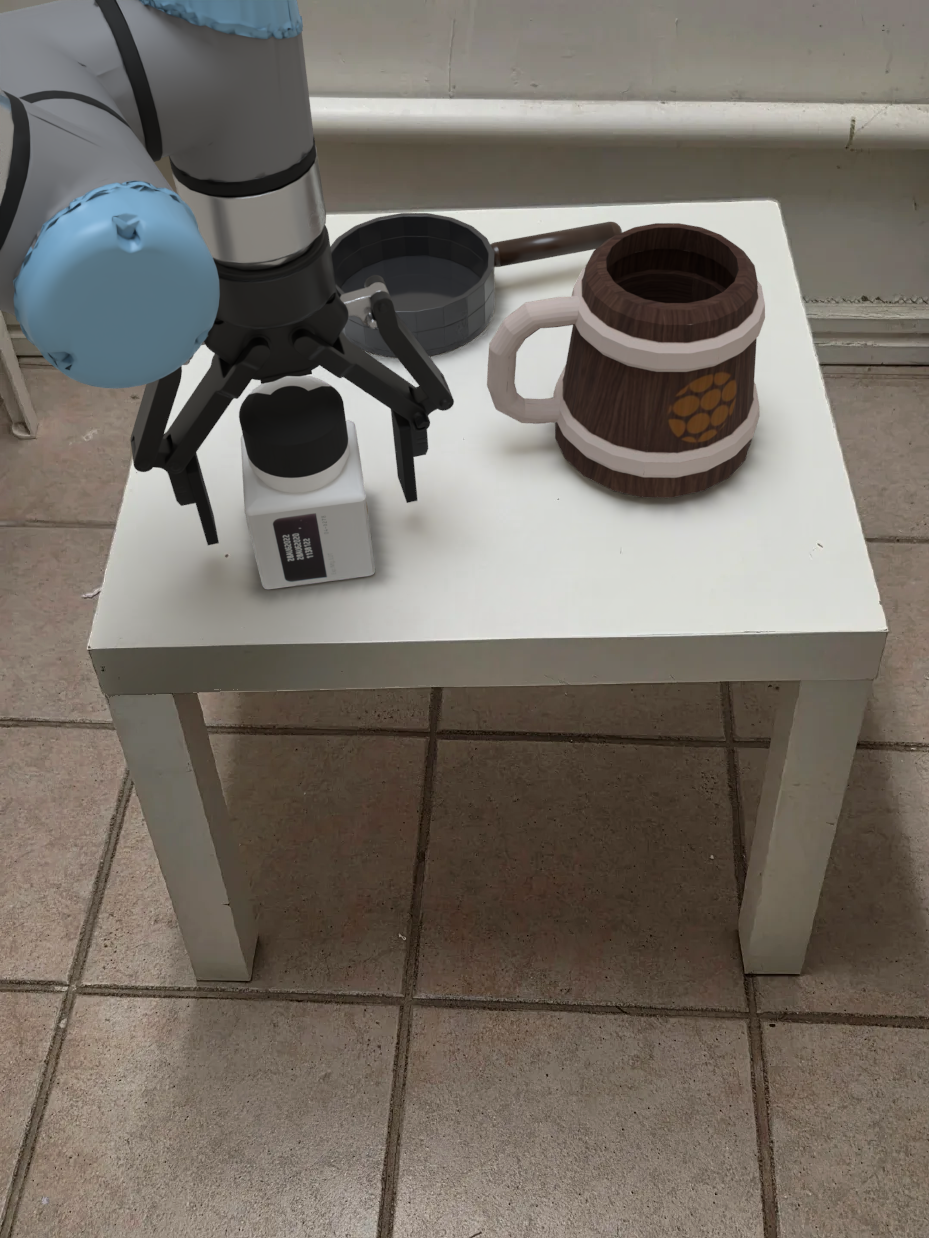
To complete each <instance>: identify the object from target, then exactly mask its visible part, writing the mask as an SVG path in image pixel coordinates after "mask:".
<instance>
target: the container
mask: <svg viewBox="0 0 929 1238" xmlns="http://www.w3.org/2000/svg"><path fill="white" fill-rule="evenodd" d="M344 404H345V403H344V400H343V397H342V395H341V394H340V392H339V391H338V390H337V388H335V387H334V386H333V385H331V384H330V383H328V382H326V381H325V380H323V379H321V378H318V377H315V376H311V375H305V376H286V377H283V378H281V379H279V380H276V381H274V382H269V383H264V384H261V383H260V384H259V385H257V386H256V387H255V388H253V389H252V391H250V392H249V394H248V395H246V397H245V398H244V400H243V401H242V403H241V405H240V408H239V412H238V420H239V424H240V428H241V434H242V435H241V437H240V449H241V450H240V451H241V469H242V490H243V491H242V492H243V507H244V515H245V520H246V524H247V528H248V532H249V537H250V540H251V545H252V549H253V552H254V553H253V554H254V557H255V561H256V565H257V570H258V573H259V579H260V583H261V586H262V587H263V589H265V590H275V589H282V588H288V587H290V588H291V587H297V586H304V585H311V584H318V583H326V582H327V583H328V582H332V581H340V580H349V579H356V578H363V577H370V576H373V575H374V574H375V572H376V565H375V556H374V550H373V542H372V535H371V534H372V533H371V525H370V517H369V510H368V503H367V495H366V488H365V480H364V474H363V468H362V461H361V454H360V445H359V441H358V434H357V433H358V432H357V427H356V423H355V421H353V420H351V419H350V420H347V419H346V411H345V405H344Z"/></svg>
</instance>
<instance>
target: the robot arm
mask: <svg viewBox="0 0 929 1238" xmlns="http://www.w3.org/2000/svg"><path fill="white" fill-rule="evenodd" d="M303 27H304V23H303V16H302V15H301V14H300V10H299V5H298V1H297V0H54V1H50V2H49V1H48V2H46V3H41V4H36V5H31V6H27V7H22V8H18V9H13V10H9V11H4V12H0V311H1V312H5V313H7V314H10V315H12V316H14V317H15V319H16V322H18V323H19V326H20V330H21V332H22V334H23V335H24V337H25V338H26V340H27V341H28V342H30V343H31V344H32V345H33V346H35V347H36V349H37V350H38V351H39V352H40V354H41V356H42V357H43V359H45V360H46V361H47V362H48V363H49V364H50V365H52V367H54V368H55V370H58V371H59V372H60V373H62V374H63V375H65V376H66V377H68V378H69V379H71V380H73V381H76V382H78V383H80V384H83V385H87V386H90V387H95V388H102V389H113V390H114V389H129V388H135V387H140V386H145V388H144V390H143V394H142V398H141V401H140V405H139V408H138V411H137V414H136V417H135V421H134V425H133V428H132V431H131V435H130V439H129V441H130V448H131V455H132V463H133V467H134V470H135V471H137V472H140V473H147V472H150V471H151V470H152V469H154V468H158V469H161V470H164V472H166V473H167V475H168V478H169V481H170V485H171V488H172V492H173V494H174V498H175V501H176V502H177V504H178V505H180V506H181V507H184V506H189V505H194V504H195V507H196V510H197V514H198V516H199V520H200V523H201V527H202V530H203V534H204V537H205V541H206V545H207V546H212V545H217V544H219V543H220V540H219V536H218V535H219V534H218V531H217V530H218V529H217V524H216V520H215V515H214V512H213V507H212V503H211V500H210V496H209V493H208V490H207V485H206V482H205V479H204V475H203V471H202V468H201V464H200V461H199V457H198V454H197V452H198V450H199V449H200V448H201V446H202V445H203V444H204V442H205V441H206V439H207V438H208V436H209V435H210V433H211V432H212V430H213V429H214V427H216V425H217V423H218V422H219V421H220V419H221V417H222V416H223V415H224V413H225V412H226V410H227V409H228V407H229V406H230V404H231V403H232V401H233V400H234V399H236V400H238V399H239V398H241V396H242V394H243V393H244V392H245V390H246V389H247V387H248V385H250V383H251V382H252V380H254V381H260V385H261V384H264V383H269V382H274V381H276V380H279V379H281V378H283V377H286V376H305V375H306V376H311V375H313V371H314V370H315V369H317V368H318V367H321V368H323V369H324V370H326V371H327V372H329V373H330V374H332V375H333V376H335V377H336V378H337V379H342V378H344V379H345V380H347V381H348V382H349V383H351V384H353V385H354V386H356V387H358V388H359V389H360V390H361V391H363V392H365V393H366V394H368V395H369V396H370V397H372V398H373V399H375V400H376V401H378V402H380V403H381V404H383V405H384V406H386V407H387V408H389V409H390V414H391V424H392V435H393V444H394V454H395V464H396V473H397V479H398V482H399V484H400V487H401V490H402V493H403V496H404V499H405V502H406V503H407V504H408V503H413V502H417V501H418V491H417V479H416V468H415V458H417V457H421V456H426V455H427V453H428V450H429V439H428V429H429V427H430V425H431V420H430V418H429V415H431V413H433V412H434V411H437V410H439V411H448V410H450V409H451V408H453V405H454V403H455V400H454V398H453V395H452V392H451V389H450V387H449V385H448V382H447V380H446V378H445V375H444V373H442V371H441V370H440V368H439V367H438V366H437V364H436V363H435V362H434V361H433V359H432V358H431V357H430V356H429V355H428V354H427V353H426V351H425V350H424V349H423V347H422V346H421V345H420V344H419V342H418V341H417V340H416V338H415V337H414V336H413V334H412V333H411V332H410V330H409V329H408V328H407V326H406V325H405V324H404V322H403V321H402V320H401V318H400V317H399V316H398V314H397V313H396V312H395V310H394V305H393V302H392V300H391V297H390V295H389V292H388V290H387V287H386V284H385V282H384V280H383V278H382V277H381V276H378V275H372V276H370V277H368V278H367V279H366V281H365V288H363V289H359V290H356V291H352V292H349V293H345V294H342V295H341V293H340V292H339V291H338V290H337V289H336V285H335V277H334V270H333V263H332V255H331V248H330V246H331V241H330V234H329V230H328V228H327V225H326V223H327V211H326V205H325V204H326V203H325V197H324V189H323V182H322V177H321V169H320V164H319V156H318V150H317V145H316V139H315V136H314V135H315V134H314V127H313V119H312V109H311V101H310V93H309V85H308V84H309V83H308V76H307V75H308V74H307V66H306V65H307V64H306V58H305V50H304V40H303V33H302V32H304V30H303ZM166 157H168V159H169V163H170V168H171V175H172V179H173V181H174V186H175V190H176V192H175V190H174V189H173V188H172V186H171V185H170V184H169V181H168V180H167V179H166V177H165V176H164V175H163V172H161V170H160V169H159V166H157V164H156V162H159V161H161V159H163V158H166ZM351 316H355V317H358V318H359V319H360V320H361V321H362V323H363V324H364V325H366V326H369V327H370V328H372V329H374V328H376V327H378V330H379V333H380V335H381V337H382V339H383V340H384V342H385V343H386V344H387V346H388V347H389V348H390V349H391V351H392V352H393V353H394V354H395V356H396V357H395V358H397V360H398V361H399V362H400V364H401V365H402V366H403V368H405V370H406V371H407V373H408V374H409V375H410V377H412V379H413V380H414V381H415V382H416V383H417V385H418V386H415V385H413V384H412V383H411V382H409V381H408V380H406V379H405V378H403V377H402V376H400V375H399V374H398V373H396V372H395V371H394V370H392V369H391V368H389V367H388V366H386V365H385V364H383V363H382V362H380V361H379V360H378V359H376V358H375V357H373V356H372V355H371V354H370V353H369V352H367V351H365V350H362V349H361V348H359V347H358V346H356V345H355V344H353V343H352V342H351V341H349V340H348V339H347V338H346V336H345V335H344V334H343V333H342V330H343V329H344V327H345V325H346V324H347V321H348V317H351ZM202 346H205V347H206V348H207V349H208V350H209V351H210V352H212V353H213V356H212V359H211V363H210V367H209V368H208V369H207V370H206V373H205V374H204V376H202V379H201V380H200V381H199V383H198V385H197V386H196V387H195V389H194V391H193V392H192V394H191V395H190V396H189V398H188V399H187V401H186V402H185V404H184V405H183V406H182V408H181V410H179V411H180V412H179V413H178V414H177V416H176V417H175V419H174V420H173V422H172V423H171V425H170V426H169V428H168V429H167V426H168V422H169V419H170V416H171V413H172V410H173V407H174V404H175V400H176V397H177V394H178V392H179V388H180V384H181V381H182V373H183V367H182V366H187V365H189V364H190V362H191V360H192V359H193V358H194V357H195V356H194V355H195V354H196V353H197V352H198V350H199V349H200V348H201V347H202ZM166 429H167V430H166Z"/></svg>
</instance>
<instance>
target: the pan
mask: <svg viewBox="0 0 929 1238" xmlns="http://www.w3.org/2000/svg"><path fill="white" fill-rule="evenodd" d="M490 244H491V243H490V241H489V239H488V238H487V237H486V236H485V235H484V234H483V233H481V232H480V231H479V230H478V229H477V228H476V227H475V226H473V225H470V224H468V223H466V222H463V221H461V220H459V219H456V218H454V217H451V216H445V215H441V214H434V213H429V212H400V213H395V214H389V215H383V216H378V217H375V218H372V219H369V220H367V221H363V222H362V223H359V224H356V225H355V226H353V227H351V228H350V229H348V230H347V231H345V232H344V233H342V234H341V235H339V236H338V237H336V238H335V240H334V241H333V242H332V243H331V244H330V248H331V255H332V263H333V270H334V277H335V285H336V289H337V290H338V291H339V292H340V293H341V295H342V294H345V293H349V292H352V291H356V290H359V289H363V288H365V281H366V279H367V278H368V277H370V276H372V275H378V276H381V277H382V278H383V280H384V282H385V284H386V287H387V290H388V292H389V295H390V297H391V300H392V302H393V305H394V310H395V312H396V313H397V314H398V316H399V317H400V318H401V320H402V321H403V322H404V324H405V325H406V326H407V328H408V329H409V330H410V332H411V333H412V334H413V336H414V337H415V338H416V340H417V341H418V342H419V344H420V345H421V346H422V347H423V349H424V350H425V351H426V353H427V354H428V355H429V357H430V356H436V355H440V354H443V353H444V354H445V353H447V352H450V351H453V350H455V349H458V348H460V347H462V346H464V345H466V344H468V343H469V342H471V341H472V340H473V339H475V338H476V337H478V336H479V335H480V334H481V333H482V332H483V331H484V330H485V329H486V328H487V326H488V325H490V322H491V320H492V318H493V316H494V312H495V305H496V273H495V272H496V267H495V253H494V251H493V249H492V247H491V245H490ZM342 333H343V334H344V335H345V336H346V338H347V339H348V340H349V341H351V342H352V343H353V344H355V345H356V346H358V347H359V348H361V349H362V350H363V351H365V352H366V353H371V354H374V355H379V356H384V357H389V358H397V357H396V356H395V354H394V353H393V352H392V351H391V349H390V348H389V347H388V346H387V344H386V343H385V342H384V340H383V339H382V337H381V335H380V333H379V330H378V327H376V328H374V329H372V328H370V327H369V326H366V325H364V324H363V323H362V321H361V320H360V319H359V318H358V317H355V316H351V317H348V321H347V324H346V325H345V327H344V329H343V330H342Z"/></svg>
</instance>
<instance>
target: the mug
mask: <svg viewBox="0 0 929 1238" xmlns="http://www.w3.org/2000/svg"><path fill="white" fill-rule="evenodd" d="M749 257H750V256H748V254H746V252H745V250H743V249H742V248H741V247H739V246H738V245H737V244H735V243H734V242H732V241H731V240H730V239H728V238H726V237H725V236H723V235H722V234H720V233H717V232H715V231H712V230H709V229H707V228H704V227H701V226H697V225H691V224H685V223H680V222H676V223H675V222H672V223H671V222H665V223H663V222H661V223H660V222H656V223H651V224H644V225H640V226H635V227H632V228H629V229H626V230H624V231H622V233H620V234H617V235H615V236H613V237H611V238H609V239H608V240H607V241H605V242H604V243H603V244H602V245H600V246H599V247H598V248H597V249H594V250H592V253H591V255H590V257H589V258H588V261H587V263H586V264H585V267H584V268H582V269H581V271H580V273H579V275H578V276H577V279H576V281H575V283H574V284H573V288H572V292H571V296H557V297H550V298H545V299H538V300H531V301H526V302H524V303H523V304H522V305H520V306H519V307H518V308H517V309H515V310H514V311H512V312H511V313H510V314H508V315H507V316H506V317H505V318H504V319H503V320H502V322H501V324H500V326H499V327H498V329H497V330H496V332H495V333H494V335H493V337H492V338H491V340H490V342H489V344H488V354H487V355H488V357H487V371H486V372H487V375H486V387H487V389H488V392H489V396H490V398H491V401H492V403H493V406H494V409H495V410H496V411H497V412H499V413H502V414H503V415H505V416H507V417H508V418H511V419H513V420H515V421H517V422H519V423H521V424H535V425H536V424H537V425H538V424H540V425H541V424H551V423H554V432H555V433H554V439H555V441H556V443H557V445H558V447H559V449H560V451H561V454H562V456H563V457H564V459H565V460H566V461H567V462H568V463H569V464H570V465H571V466H572V467H573V468H574V469H575V470H576V471H578V472H579V473H580V475H582V476H583V477H584V478H587V479H589V480H590V481H593V482H594V483H596V484H598V485H600V486H602V487H604V488H606V489H609V490H611V491H613V492H616V493H620V494H624V495H629V496H634V497H638V498H642V499H644V498H645V499H646V498H647V499H673V498H678V497H682V496H686V495H690V494H695V493H700V492H704V491H706V490H709V489H710V488H712V487H714V486H716V485H718V484H720V483H721V482H724V481H725V480H727V479H729V478H730V477H731V476H732V475H733V474H734V473H735V472H736V471H737V470H738V469H739V468H740V466H741V465H742V464H743V463H745V461H746V459H747V456H748V453H749V450H750V447H751V444H752V442H753V437H754V435H755V432H756V430H757V425H758V423H759V421H760V420H759V419H760V417H761V415H760V414H761V413H760V401H759V396H758V391H757V384H756V383H755V373H756V355H757V340H758V337H759V336H760V333H761V330H762V328H763V325H764V322H765V320H766V302H765V297H764V291H763V285H762V284H761V283H760V282H759V281H758V277H757V276H758V275H757V271H756V266H755V264H754V263H753V261H752V260H751V258H749ZM569 326H572V329H571V334H570V339H569V345H568V351H567V355H566V360H565V361H566V362H565V365H564V367H563V369H562V370H561V374H560V375H559V377H558V378H557V381H556V383H555V386H554V390H553V394H552V395H553V396H552V397H547V398H528V397H525V398H524V397H523V396H522V395H521V394H520V393H518V390H517V386H516V382H515V381H516V380H515V379H516V368H517V354H518V353H517V352H518V351H519V349H520V348H521V346H522V345H523V344H524V342H525V341H526V340H527V339H528V338H529V337H531V336H532V335H534V334H535V333H536V332H538V331H539V330H540V329H550V328H560V327H569Z"/></svg>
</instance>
